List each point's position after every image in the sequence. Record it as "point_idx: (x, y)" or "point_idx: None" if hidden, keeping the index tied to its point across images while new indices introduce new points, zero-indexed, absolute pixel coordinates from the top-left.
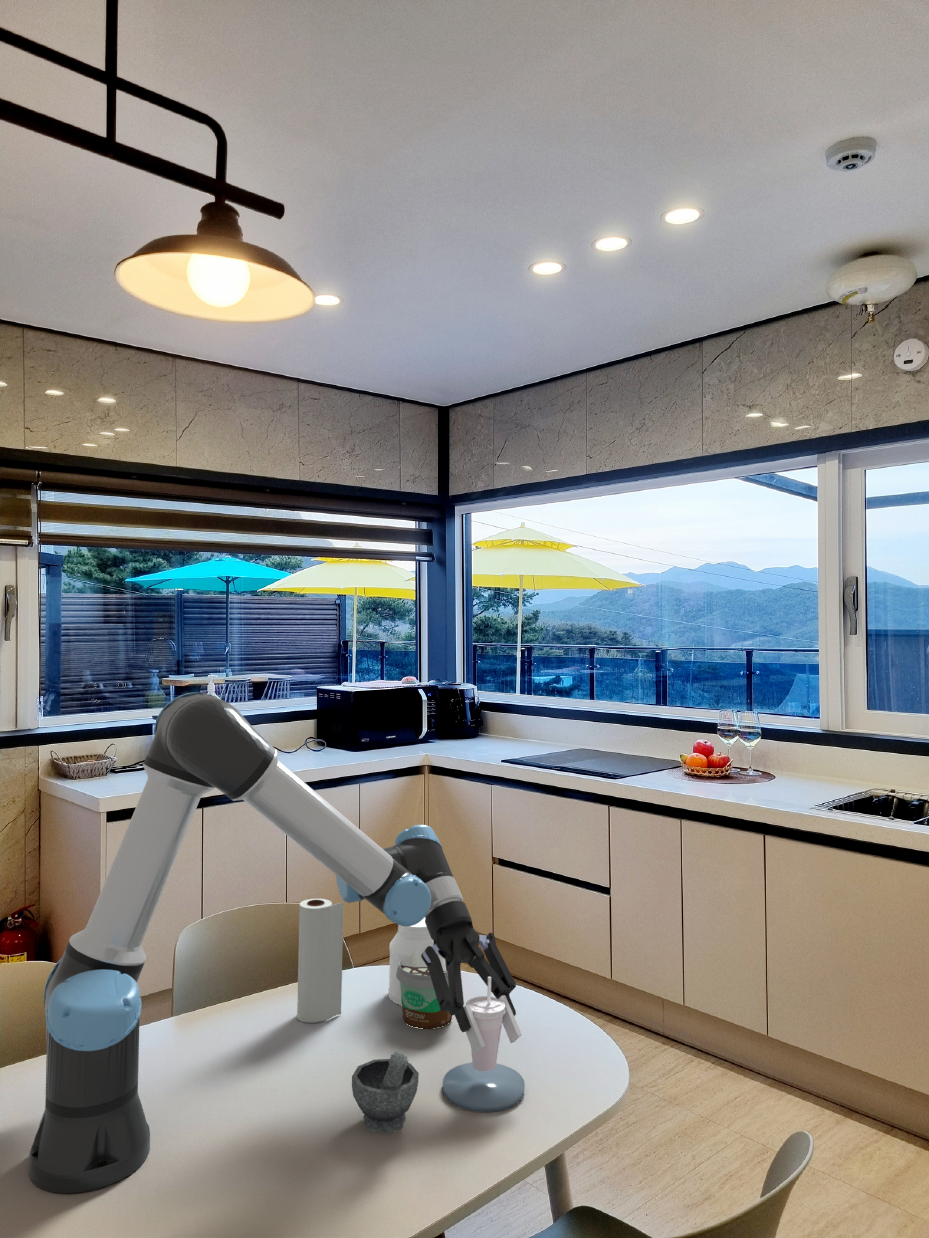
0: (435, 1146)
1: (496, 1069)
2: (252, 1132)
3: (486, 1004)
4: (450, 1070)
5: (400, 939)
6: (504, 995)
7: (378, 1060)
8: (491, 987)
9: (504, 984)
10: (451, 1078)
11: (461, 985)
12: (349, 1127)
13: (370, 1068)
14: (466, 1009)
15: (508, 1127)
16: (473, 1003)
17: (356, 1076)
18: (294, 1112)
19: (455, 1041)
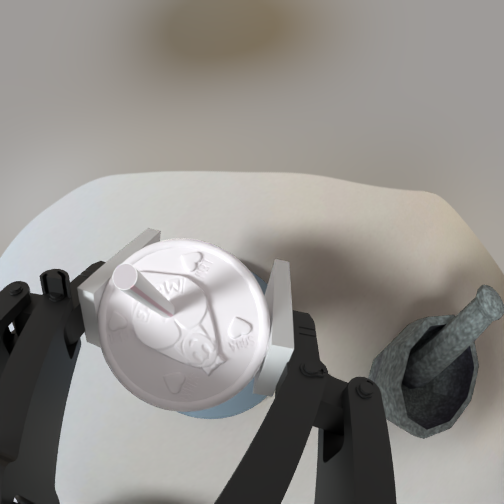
0: (380, 276)
1: None
2: (481, 429)
3: (182, 312)
4: (222, 416)
5: None
6: (81, 288)
7: (420, 431)
8: (66, 370)
9: (36, 307)
10: (243, 394)
11: (260, 434)
12: None
13: (430, 425)
14: (293, 338)
15: (268, 232)
16: (217, 363)
17: (467, 396)
18: (444, 451)
19: (119, 478)
